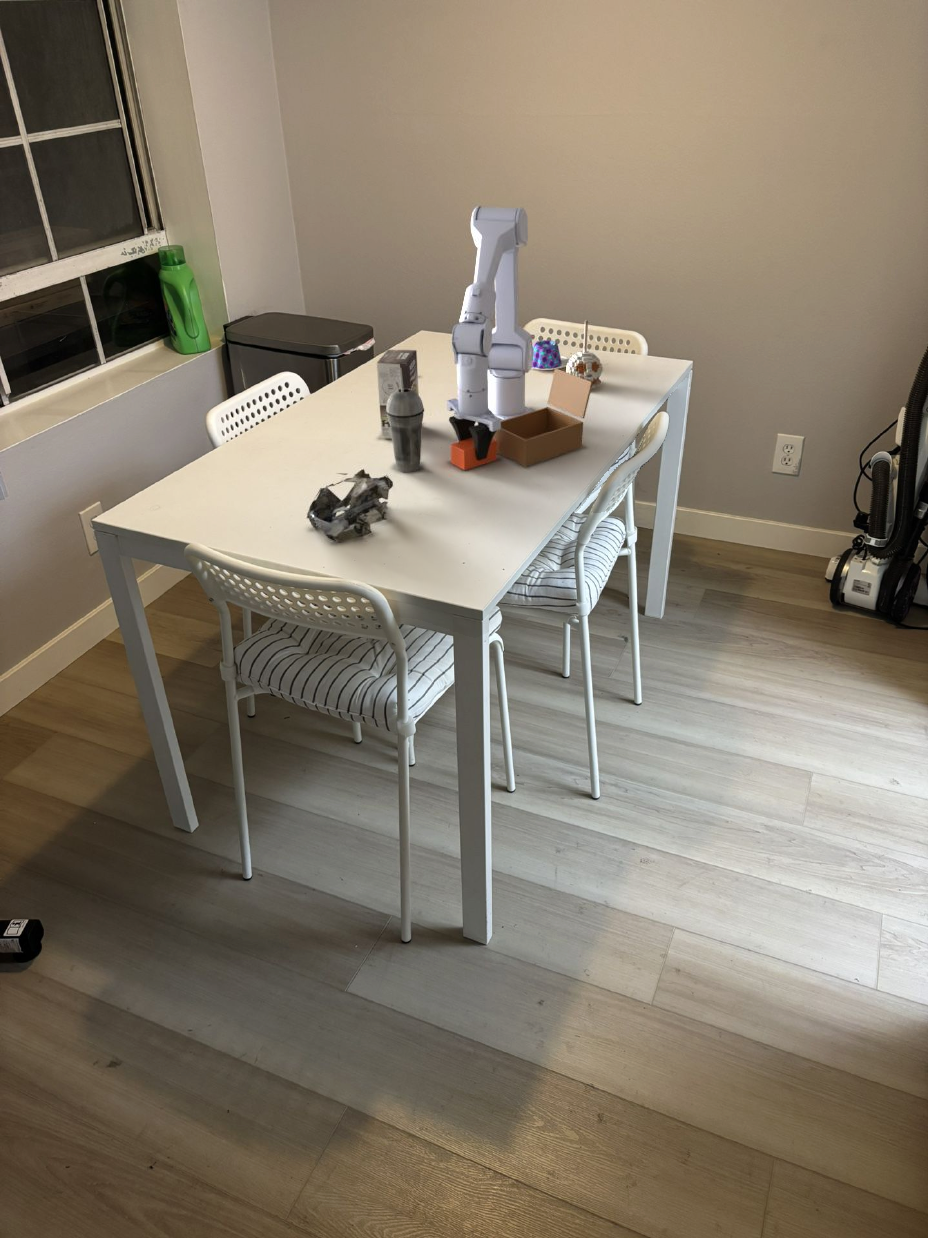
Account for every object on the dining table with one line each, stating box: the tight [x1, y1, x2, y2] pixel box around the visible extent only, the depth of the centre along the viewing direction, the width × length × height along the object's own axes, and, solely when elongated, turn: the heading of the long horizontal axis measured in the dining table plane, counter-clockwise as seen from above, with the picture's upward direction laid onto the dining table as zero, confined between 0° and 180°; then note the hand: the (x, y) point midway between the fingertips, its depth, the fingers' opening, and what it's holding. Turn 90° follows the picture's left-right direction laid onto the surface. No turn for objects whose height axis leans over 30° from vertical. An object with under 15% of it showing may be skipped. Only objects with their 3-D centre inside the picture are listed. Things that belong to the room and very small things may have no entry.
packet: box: [450, 437, 498, 471], centre depth 186 cm, size 4×8×4 cm, turn 127°
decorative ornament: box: [565, 319, 604, 390], centre depth 217 cm, size 8×8×15 cm
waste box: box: [492, 406, 584, 468], centre depth 190 cm, size 15×11×5 cm
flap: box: [547, 368, 593, 420], centre depth 190 cm, size 7×11×1 cm
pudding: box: [531, 339, 570, 371], centre depth 233 cm, size 12×12×5 cm
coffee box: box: [376, 349, 420, 440], centre depth 196 cm, size 9×6×16 cm
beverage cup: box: [386, 368, 425, 473], centre depth 180 cm, size 7×7×20 cm
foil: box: [306, 468, 394, 544], centre depth 164 cm, size 12×11×15 cm
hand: (473, 454), depth 186 cm, fingers closed on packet, 4 cm apart
